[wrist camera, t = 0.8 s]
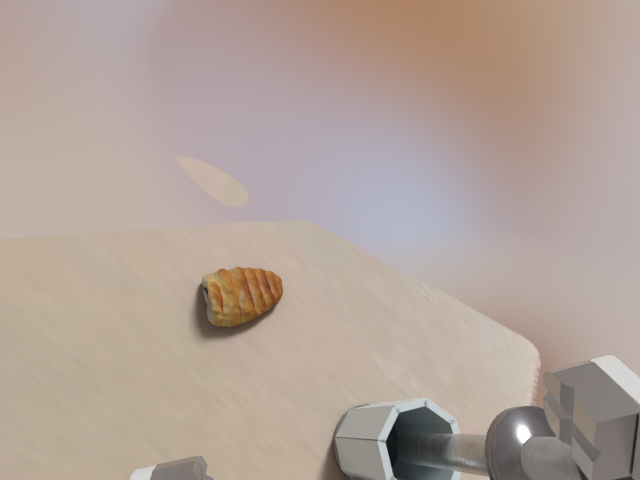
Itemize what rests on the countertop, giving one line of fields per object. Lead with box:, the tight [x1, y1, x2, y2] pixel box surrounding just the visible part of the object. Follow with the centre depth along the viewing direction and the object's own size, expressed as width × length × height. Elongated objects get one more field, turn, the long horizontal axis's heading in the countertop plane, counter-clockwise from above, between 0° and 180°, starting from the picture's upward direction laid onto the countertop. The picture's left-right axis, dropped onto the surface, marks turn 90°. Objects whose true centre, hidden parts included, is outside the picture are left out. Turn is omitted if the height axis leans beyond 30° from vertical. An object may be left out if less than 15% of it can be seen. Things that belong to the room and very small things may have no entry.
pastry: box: [202, 267, 283, 327], centre depth 51 cm, size 9×7×4 cm
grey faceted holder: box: [333, 398, 462, 480], centre depth 43 cm, size 8×11×13 cm
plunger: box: [395, 406, 634, 480], centre depth 29 cm, size 6×6×26 cm
